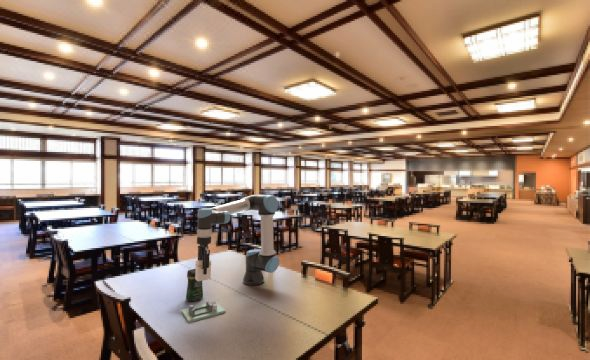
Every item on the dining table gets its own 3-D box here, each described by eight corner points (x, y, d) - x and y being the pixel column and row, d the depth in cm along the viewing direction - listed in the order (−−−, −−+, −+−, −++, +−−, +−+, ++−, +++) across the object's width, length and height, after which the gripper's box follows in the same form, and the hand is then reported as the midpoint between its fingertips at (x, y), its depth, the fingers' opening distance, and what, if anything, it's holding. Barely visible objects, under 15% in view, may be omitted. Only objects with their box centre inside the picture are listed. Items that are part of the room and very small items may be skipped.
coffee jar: (190, 303, 163) (191, 272, 163) (184, 299, 168) (184, 269, 168) (205, 298, 170) (205, 268, 170) (198, 294, 175) (199, 265, 175)
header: (208, 306, 156) (208, 298, 156) (212, 311, 151) (212, 303, 151) (188, 311, 150) (188, 303, 150) (192, 317, 144) (192, 308, 144)
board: (216, 303, 164) (216, 296, 164) (225, 312, 153) (225, 305, 153) (181, 311, 152) (181, 304, 152) (188, 322, 141) (188, 314, 141)
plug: (207, 276, 155) (208, 259, 155) (210, 279, 151) (211, 261, 151) (195, 278, 151) (195, 260, 151) (197, 281, 147) (198, 262, 147)
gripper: (192, 234, 156) (191, 275, 156) (202, 239, 142) (200, 284, 141) (205, 233, 160) (204, 272, 160) (216, 238, 146) (214, 282, 146)
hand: (202, 278), depth 151 cm, fingers closed on plug, 4 cm apart
